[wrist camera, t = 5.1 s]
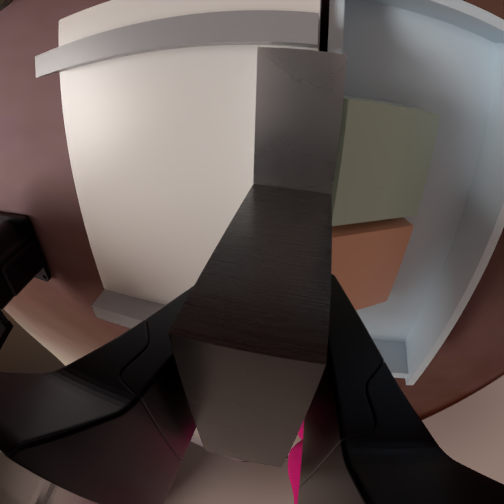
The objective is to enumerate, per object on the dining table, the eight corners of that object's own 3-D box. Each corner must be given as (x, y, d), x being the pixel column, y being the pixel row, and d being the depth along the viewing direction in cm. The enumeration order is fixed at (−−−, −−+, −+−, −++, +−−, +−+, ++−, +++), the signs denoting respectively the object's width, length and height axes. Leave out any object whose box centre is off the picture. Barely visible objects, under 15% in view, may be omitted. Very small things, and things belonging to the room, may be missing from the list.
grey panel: (261, 323, 15) (215, 476, 9) (277, 53, 8) (127, 19, 2) (301, 330, 15) (270, 488, 8) (340, 59, 8) (398, 18, 1)
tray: (293, 327, 19) (284, 371, 17) (329, -12, 8) (330, -38, 6) (407, 342, 18) (412, 385, 15) (498, 37, 7) (540, 37, 4)
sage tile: (315, 211, 12) (330, 226, 11) (328, 93, 9) (348, 98, 8) (399, 202, 13) (416, 215, 12) (419, 107, 10) (440, 115, 9)
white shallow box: (136, 290, 21) (104, 335, 17) (98, 20, 11) (35, 21, 7) (289, 322, 19) (277, 380, 15) (321, -3, 9) (319, -36, 5)
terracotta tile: (300, 304, 14) (310, 322, 13) (314, 222, 12) (328, 238, 11) (374, 286, 16) (386, 301, 15) (397, 212, 13) (413, 225, 12)
